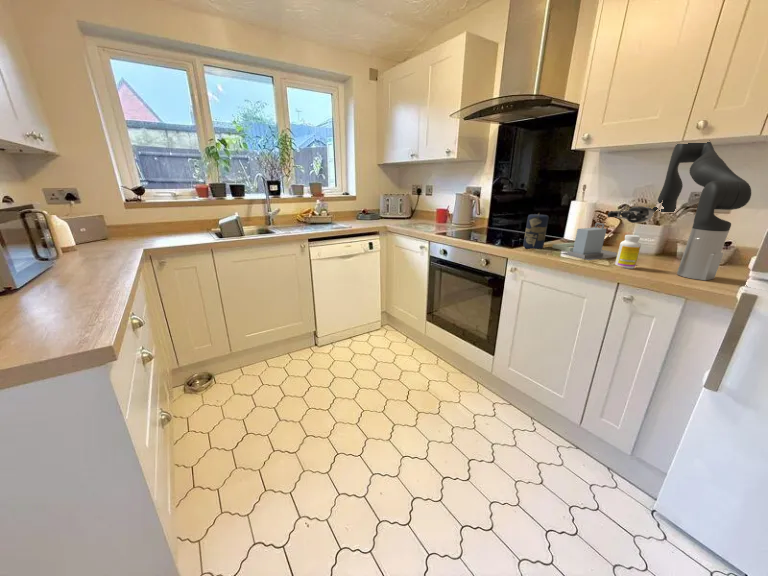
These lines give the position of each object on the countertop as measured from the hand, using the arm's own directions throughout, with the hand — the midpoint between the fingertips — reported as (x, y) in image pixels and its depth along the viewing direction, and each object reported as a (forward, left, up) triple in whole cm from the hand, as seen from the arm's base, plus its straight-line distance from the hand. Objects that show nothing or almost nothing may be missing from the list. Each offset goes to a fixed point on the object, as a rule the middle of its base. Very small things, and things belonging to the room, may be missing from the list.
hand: (618, 215), depth 142 cm
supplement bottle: (-18, +18, -18) cm, 31 cm away
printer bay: (0, +10, -18) cm, 21 cm away
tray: (+13, +8, -18) cm, 24 cm away
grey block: (0, +16, -17) cm, 23 cm away
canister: (+23, +24, -18) cm, 38 cm away
